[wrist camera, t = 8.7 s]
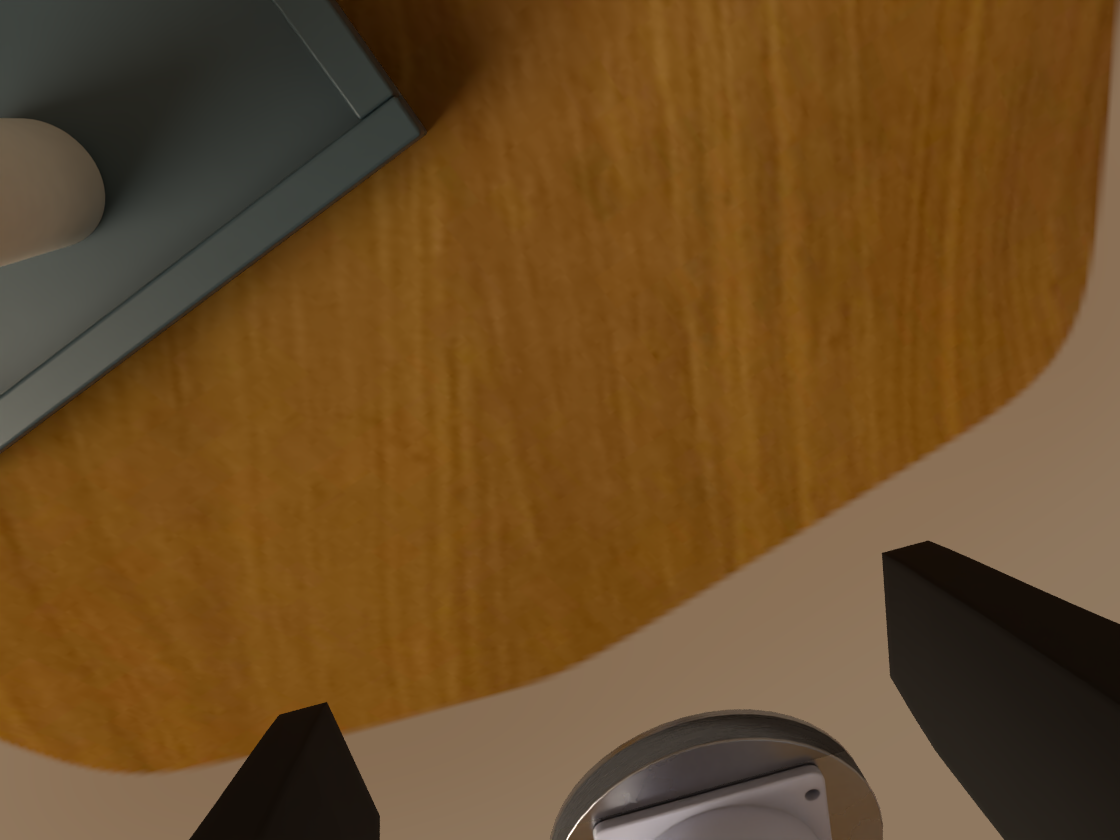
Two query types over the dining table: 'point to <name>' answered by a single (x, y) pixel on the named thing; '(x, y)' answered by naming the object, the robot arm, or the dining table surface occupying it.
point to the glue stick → (44, 190)
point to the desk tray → (176, 164)
